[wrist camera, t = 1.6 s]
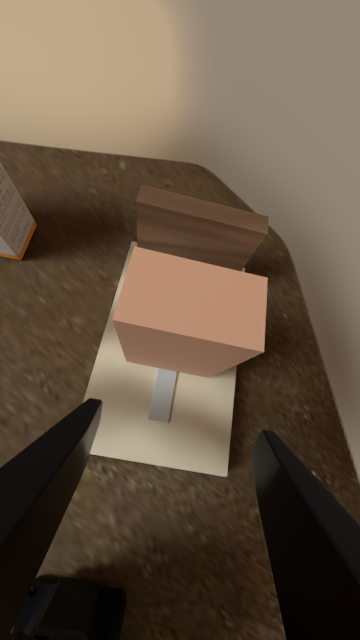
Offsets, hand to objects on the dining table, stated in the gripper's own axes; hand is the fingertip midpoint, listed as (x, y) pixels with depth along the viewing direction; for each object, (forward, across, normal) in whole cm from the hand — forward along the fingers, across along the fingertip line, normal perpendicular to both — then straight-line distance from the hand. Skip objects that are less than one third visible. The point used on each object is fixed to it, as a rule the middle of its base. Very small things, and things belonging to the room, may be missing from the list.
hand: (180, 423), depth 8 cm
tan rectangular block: (+12, 0, +4) cm, 13 cm away
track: (+14, 0, +5) cm, 15 cm away
